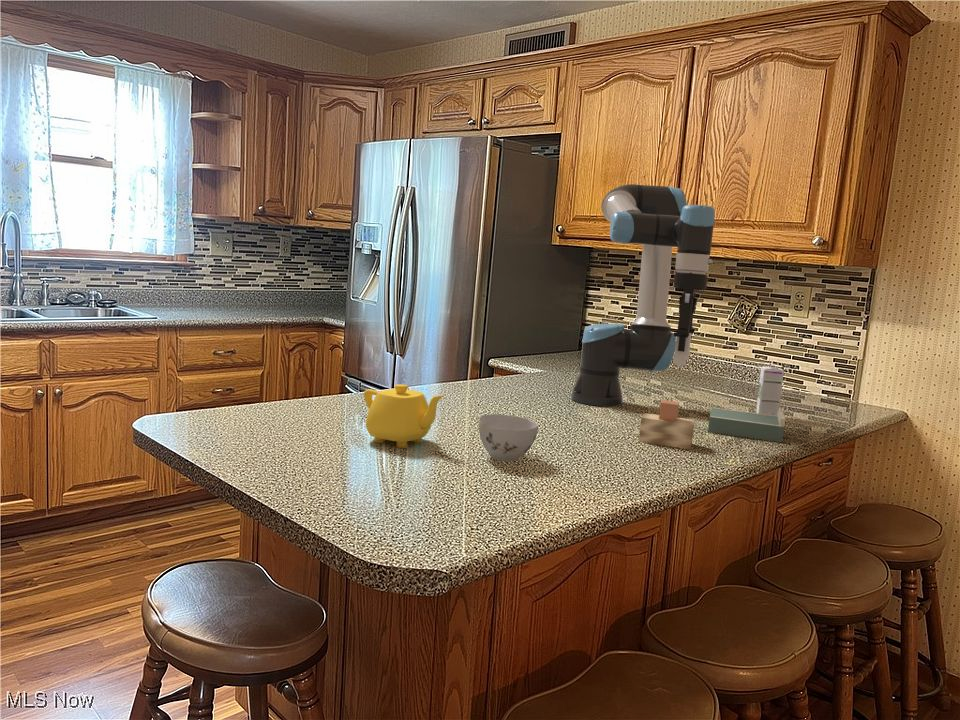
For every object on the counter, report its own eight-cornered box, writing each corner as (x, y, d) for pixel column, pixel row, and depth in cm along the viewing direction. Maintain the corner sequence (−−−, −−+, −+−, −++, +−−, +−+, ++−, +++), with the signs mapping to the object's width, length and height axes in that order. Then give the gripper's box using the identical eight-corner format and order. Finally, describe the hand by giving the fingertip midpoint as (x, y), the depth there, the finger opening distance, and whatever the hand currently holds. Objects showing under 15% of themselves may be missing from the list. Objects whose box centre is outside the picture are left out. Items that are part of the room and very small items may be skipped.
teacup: (518, 470, 148) (521, 431, 147) (464, 458, 154) (466, 420, 153) (550, 455, 161) (553, 419, 160) (498, 444, 167) (501, 409, 166)
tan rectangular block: (638, 442, 180) (641, 417, 179) (641, 436, 186) (644, 413, 185) (690, 449, 176) (693, 424, 175) (691, 444, 182) (694, 420, 181)
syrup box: (778, 419, 220) (785, 370, 218) (757, 416, 221) (764, 368, 219) (775, 415, 225) (781, 367, 223) (754, 413, 227) (760, 365, 224)
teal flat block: (707, 432, 196) (710, 409, 195) (709, 421, 209) (712, 400, 208) (781, 442, 190) (785, 419, 189) (779, 431, 203) (782, 409, 203)
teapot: (424, 457, 153) (428, 397, 151) (344, 439, 162) (347, 382, 160) (456, 444, 165) (460, 388, 163) (379, 428, 174) (382, 375, 172)
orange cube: (658, 419, 179) (660, 402, 178) (660, 416, 183) (662, 399, 182) (675, 421, 178) (677, 404, 177) (677, 418, 181) (679, 402, 181)
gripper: (706, 273, 164) (695, 370, 167) (709, 273, 188) (699, 358, 190) (671, 271, 166) (660, 366, 169) (678, 271, 190) (669, 355, 193)
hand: (681, 362), depth 180 cm, fingers open, 13 cm apart
